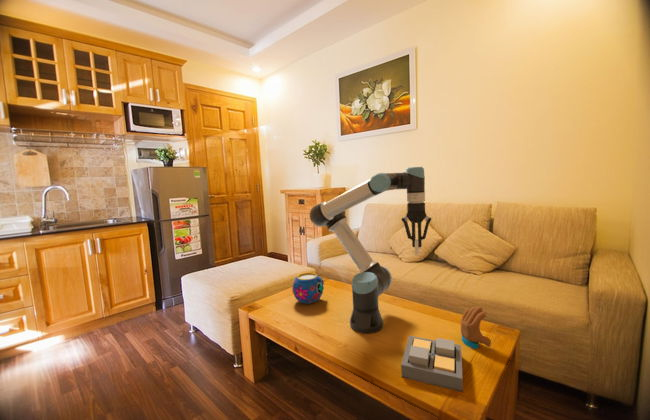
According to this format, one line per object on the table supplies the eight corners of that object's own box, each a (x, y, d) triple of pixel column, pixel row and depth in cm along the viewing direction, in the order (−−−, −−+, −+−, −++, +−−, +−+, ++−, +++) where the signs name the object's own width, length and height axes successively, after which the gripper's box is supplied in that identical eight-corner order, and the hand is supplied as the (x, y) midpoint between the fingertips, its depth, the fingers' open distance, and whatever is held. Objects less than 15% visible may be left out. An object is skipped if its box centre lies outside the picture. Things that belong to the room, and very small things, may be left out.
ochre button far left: (412, 357, 101) (412, 347, 101) (414, 348, 107) (414, 338, 106) (429, 361, 99) (429, 350, 98) (431, 351, 104) (430, 341, 104)
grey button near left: (409, 366, 94) (408, 355, 93) (411, 355, 99) (411, 345, 99) (427, 370, 91) (427, 359, 91) (429, 359, 97) (429, 348, 96)
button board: (401, 377, 93) (401, 364, 93) (409, 346, 110) (409, 335, 109) (462, 392, 85) (462, 378, 85) (461, 356, 102) (461, 345, 101)
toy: (492, 352, 103) (492, 314, 102) (475, 354, 103) (475, 316, 101) (472, 334, 115) (472, 300, 114) (456, 336, 115) (456, 301, 113)
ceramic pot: (324, 307, 148) (322, 280, 146) (291, 309, 148) (289, 282, 146) (324, 294, 165) (323, 270, 163) (295, 295, 165) (293, 271, 164)
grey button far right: (435, 357, 98) (435, 346, 97) (436, 347, 103) (436, 337, 103) (454, 361, 95) (454, 350, 95) (454, 351, 100) (454, 340, 100)
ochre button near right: (434, 377, 91) (434, 365, 90) (435, 365, 96) (435, 355, 96) (454, 382, 88) (454, 370, 88) (454, 370, 93) (454, 359, 93)
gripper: (399, 203, 121) (400, 255, 123) (431, 202, 115) (431, 257, 118) (402, 201, 128) (403, 251, 130) (432, 201, 122) (433, 252, 125)
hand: (417, 254), depth 124 cm, fingers closed
